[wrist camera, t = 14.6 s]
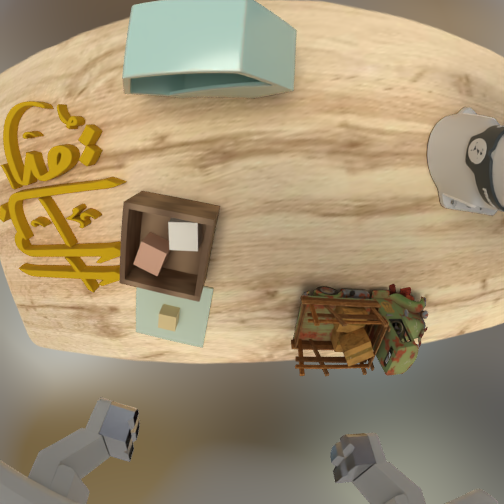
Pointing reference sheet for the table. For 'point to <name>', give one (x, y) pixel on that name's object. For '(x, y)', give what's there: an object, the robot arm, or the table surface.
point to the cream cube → (184, 235)
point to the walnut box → (156, 221)
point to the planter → (208, 50)
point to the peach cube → (152, 254)
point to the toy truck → (360, 328)
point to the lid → (173, 316)
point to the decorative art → (58, 164)
